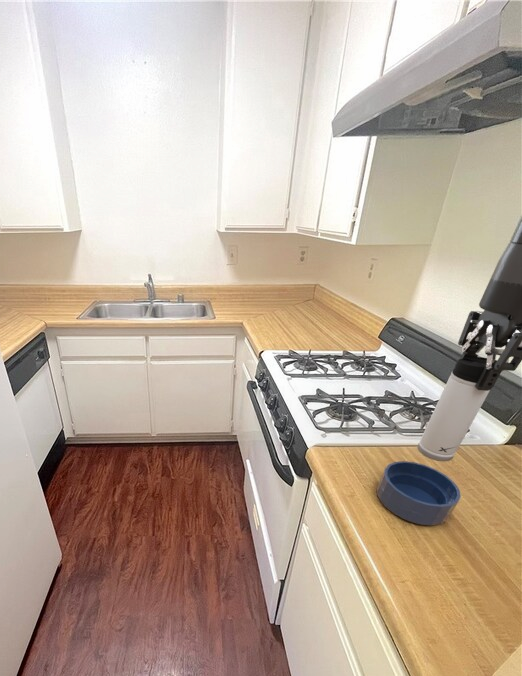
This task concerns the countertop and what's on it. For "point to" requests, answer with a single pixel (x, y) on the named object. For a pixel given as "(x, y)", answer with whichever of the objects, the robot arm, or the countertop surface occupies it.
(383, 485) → the bowl
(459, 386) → the travel mug
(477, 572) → the countertop surface
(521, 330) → the robot arm
